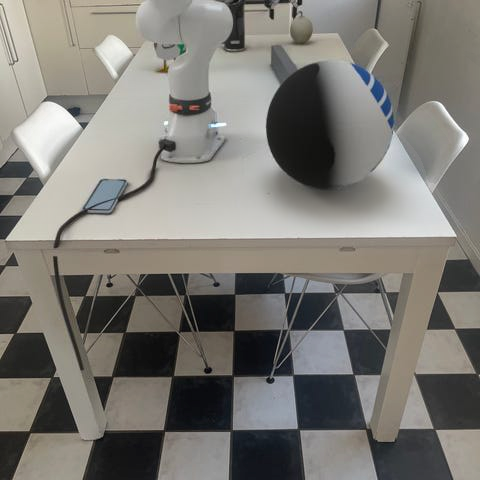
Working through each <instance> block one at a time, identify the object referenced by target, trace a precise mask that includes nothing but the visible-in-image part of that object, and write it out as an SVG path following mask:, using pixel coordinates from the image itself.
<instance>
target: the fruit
mask: <svg viewBox="0 0 480 480" xmlns="http://www.w3.org/2000/svg"><path fill="white" fill-rule="evenodd" d="M299 14H300V16H295V18H293V20H292V21H291V22H290V26H289V34H290V37H291V39H292V40H293V41H294V42H295V43H298V44H306V43H307V42H308V41H309V40H310V39H311V38H312V36H313V32H314V25H313V22H312V21H311V19H310V18H309V17H306V16H305V15H303V11H302V10H297V15H299Z"/></svg>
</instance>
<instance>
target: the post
mask: <svg viewBox="0 0 480 480" xmlns="http://www.w3.org/2000/svg"><path fill="white" fill-rule="evenodd" d="M286 51H287V50H285V48H284V47H283V45H282V44H271V45H270V66H271V68H272V70H273V71H274V73H275V75H276V77H277V78H278V81H279V82H280V85H281V84H282V83H283V82H284V81H285V80H286V79H287V78H288V77H289V76H290V75H292V74H293V73H294V72H296V71H297V70H299V69H298V68H297V66H296V65H295V62H293V60H292V59H291V56H289V54H288V52H286Z"/></svg>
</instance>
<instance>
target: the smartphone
mask: <svg viewBox="0 0 480 480" xmlns="http://www.w3.org/2000/svg"><path fill="white" fill-rule="evenodd" d="M127 185H128V180H127V179H126V178H101V179H100V180H98V182H97V183H96V185H95V186H94V188H93V190H92V192H91V193H90V195H89V197H88V198H87V200H86V201H85V203H84V204H83V206H82V207H81V211H83V210H85V209H87V208H89V207H91V206H93V205H95V204H98V203H101V202H104V201H107V200H110V199H113V198H116V197H119V196H122V195H123V192H124V190H125V189H126V187H127ZM118 202H119V201H118V198H117V199H114V200H111V201H108V202H105V203H103V204H100V205H98V206H96V207H94V208H92V209H90V210H88V212H87V213H86V214H111V213H112V212H113V211H114V209H115V207H116V205H117V203H118Z"/></svg>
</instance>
